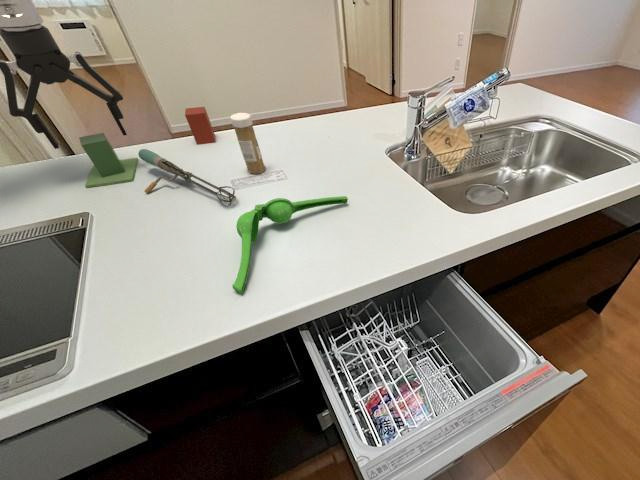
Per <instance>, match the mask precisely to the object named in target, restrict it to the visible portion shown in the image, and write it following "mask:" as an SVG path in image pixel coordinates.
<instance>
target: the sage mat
mask: <svg viewBox="0 0 640 480" xmlns="http://www.w3.org/2000/svg"><path fill="white" fill-rule="evenodd" d="M120 161H121V163H122V165H123V167H124V170H125V172H123V173H119V174H115V175H111V176H107V177H102V176H101V174H100V173H99V171H98V170H97V168H96V167H95V165H94V164H92V167H91V170H90V173H89V175H88V177H87V179H86V182H85V183H84V187H85V188H86V189H88V188H89V189H90V188H96V187H102V186H103V187H104V186H109V185H116V184H117V185H118V184H123V183H130V182H134V179H135V175H136V173H137V168H138V163H139V158H138V157H132V158H131V157H130V158H125V159H120Z"/></svg>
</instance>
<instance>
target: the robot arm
mask: <svg viewBox="0 0 640 480" xmlns="http://www.w3.org/2000/svg"><path fill="white" fill-rule="evenodd" d="M43 24H44V19H43V18H42V16H41V14H40V13H39V10H38V9H37V7H36V5H35V3H34V2H33V0H0V37H1V38H2V40H3V41H4V43H5V44H6V46H7V48H8V49H9V50H10V52H11V53H12V55H13V57H14V59H15V60H4V59H2V58H1V59H0V71H1V73H2V75H3V77H4V83H5V89H6V97H7V103H8V111H9V114H10V115H11V116H12V117H14V118H16V117H19V118H20V117H21V118H24V119H26V120H27V122H28V123H29V124H30V126H31V127H32V129H33V130H34V131H35V132H36V133H37V134H44V136H45V137H46V139H47V140H48V141H49V143H50V144H51V145H52V147H53V148H54V149H55V150H56V149H60V147H59V143H58V141H57V140H56V138H55V137H54V135H53V134H52V133H51V131H50V130H49V129H48V127H47V126H46V124H45V122H44V121H43V120H42V118H41V117H40V115H39V114H38V113H33V112H34V109H35V105H36V100H37V97H38V93H39V89H40V86H41V83H42V84H46V85H53V84H55V83H57V84H58V83H59V84H64V83H66V82H67V81H68V80H69V81H70V82H71V83H74V84H76V85H78V86H79V87H81V88H83V89H85V90H86V91H89V92H90V93H91V94H93V95H95V96H96V97H97V98H99V99H101V100H103V101H105V104H106V106H107V108H108V110H109V112H110V114H111V115H112V118H113V119H114V121H115V123H116V124H117V126H118V128H119V130H120V132H121V134H122V135H123V136H128V133H127V132H126V130H125V128H124V126H123V124H122V123H121V120H123V119H124V115H123V113H122V111H121V109H120V107H119V106H118V103H119V102H120V101H123V100H124V96H123V95H122V93H121V92H120V91H119V90H118V89H117V88H116V87H115V86H114V85H112V84H111V83H110V82H109V81H108V80H107V79H105V78H104V76H102V75H101V73H99V72H98V70H96V69H95V68H94V67H92V66H91V64H89V63H88V62H87V60H86V59H85V57H84V55H83V54H82V53H81V52H80V51H75V52H74V53H72V54H69V55H66V54H64V53H63V52H62V51H61V48H60V47H59V45H58V43H57V42H56V40H55V38H54V37H53V35H52V33H51V32H50V29H49V28H48V27H46V26H45V25H43ZM71 63H73V64H75V65H76V66H77V67H79V68H82V69H83V70H84V71H85V72H86V73H87V74H88V75H90V76H91V77H92V78H93V79H94V80H95V81H97V83H98V84H100V85H101V86H102V87H103V88H104V89H106V90H107V91H108V92H109V93H110V94H109V93H107V92H106V91H104V90H102V89H100V88H99V87H98V86H97V85H94V84H93V83H91V82H89V81H88V80H86V79H84V78H83V77H81V76H80V75H78V74H77V73H75V72H74V71H72V70H70V68H71ZM17 69H19V70H21V71H22V72H24V73H26V74H27V75H29V76H30V78H29V83H28V87H27V91H26V96H25V100H24V104H23V108H20V107H19V106H18V97H17V91H16V90H17V89H16V84H15V83H16V82H15V76H14V75H16V74H17Z"/></svg>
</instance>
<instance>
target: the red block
mask: <svg viewBox="0 0 640 480" xmlns="http://www.w3.org/2000/svg"><path fill="white" fill-rule="evenodd" d="M184 117H185V118H186V121H187V124H188V126H189V128H190V131H191V133H192V136H193V139H194V140H195V143H196V145H203V144H204V145H205V144H210V143H216V133H215V132H214V128H213V126H212V123H211V121H210V117H209V114H208V112H207V109H206V107H205V106H197V107H188V108H185V110H184Z"/></svg>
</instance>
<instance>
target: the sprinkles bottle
mask: <svg viewBox="0 0 640 480" xmlns="http://www.w3.org/2000/svg"><path fill="white" fill-rule="evenodd" d="M230 122H231V125H232V127H233V129H234V131H235V135H236V139H237V142H238V145H239V148H240V151H241V154H242V157H243V161H244V163H245V165H246V169H247V172H248V173H249V174H253V175H255V174H256V175H258V174H261V173H264V171H266V166H265V164H264V160H263V156H262V152H261V148H260V145H259V142H258V138H257V136H256V133H255V130H254V126H253V125H254V124H253V119H252V115H251V114H249V113H247V112H237V113H233V114H231V115H230Z"/></svg>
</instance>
